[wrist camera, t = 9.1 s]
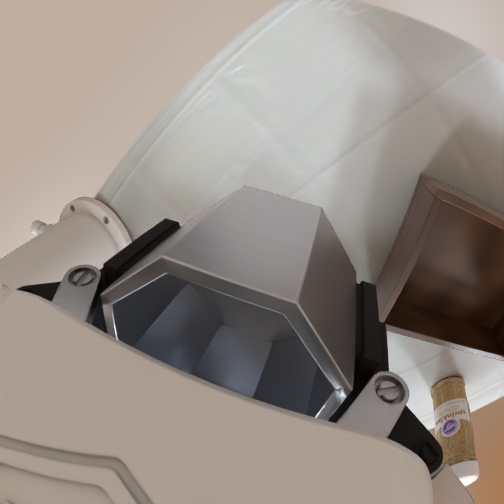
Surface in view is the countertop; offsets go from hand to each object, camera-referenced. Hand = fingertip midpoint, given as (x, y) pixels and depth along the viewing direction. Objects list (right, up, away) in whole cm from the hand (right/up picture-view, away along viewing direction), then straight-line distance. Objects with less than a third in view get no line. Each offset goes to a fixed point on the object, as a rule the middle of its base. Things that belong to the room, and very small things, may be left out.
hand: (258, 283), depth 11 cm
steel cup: (0, 0, +1) cm, 1 cm away
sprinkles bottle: (+23, -15, +15) cm, 32 cm away
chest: (+18, 0, +9) cm, 21 cm away
